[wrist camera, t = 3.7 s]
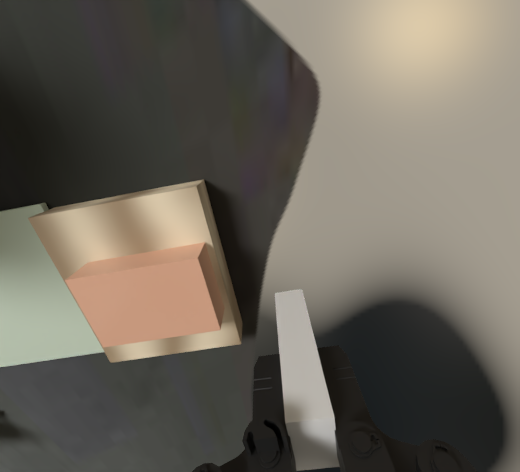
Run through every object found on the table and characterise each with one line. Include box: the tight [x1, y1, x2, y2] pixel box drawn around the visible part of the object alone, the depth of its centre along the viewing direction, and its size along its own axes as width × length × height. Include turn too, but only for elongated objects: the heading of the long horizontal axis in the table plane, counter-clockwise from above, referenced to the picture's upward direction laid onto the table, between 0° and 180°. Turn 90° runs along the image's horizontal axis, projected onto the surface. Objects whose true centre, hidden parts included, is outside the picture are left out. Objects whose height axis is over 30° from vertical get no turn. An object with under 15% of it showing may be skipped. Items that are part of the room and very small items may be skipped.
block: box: [65, 242, 225, 348], centre depth 18 cm, size 9×6×2 cm, turn 100°
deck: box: [28, 179, 243, 363], centre depth 21 cm, size 12×14×2 cm
